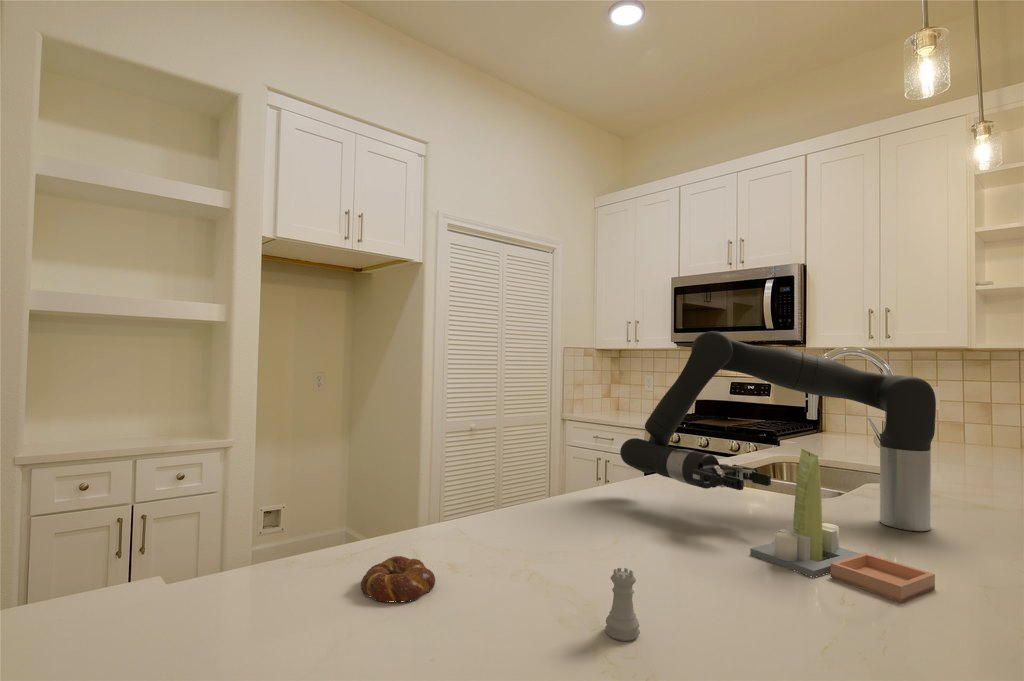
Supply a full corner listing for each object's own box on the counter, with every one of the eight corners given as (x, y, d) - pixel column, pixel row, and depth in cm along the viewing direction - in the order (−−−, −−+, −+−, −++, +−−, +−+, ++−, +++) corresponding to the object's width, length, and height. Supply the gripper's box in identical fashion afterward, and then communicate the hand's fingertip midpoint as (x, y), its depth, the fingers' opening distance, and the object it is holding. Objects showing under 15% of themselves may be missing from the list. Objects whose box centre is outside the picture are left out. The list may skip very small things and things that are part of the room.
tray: (864, 566, 97) (864, 552, 97) (934, 589, 88) (934, 574, 88) (830, 577, 92) (830, 563, 92) (901, 603, 83) (901, 586, 83)
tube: (831, 560, 100) (832, 452, 100) (816, 566, 97) (817, 454, 97) (800, 551, 104) (801, 447, 105) (785, 556, 102) (786, 449, 102)
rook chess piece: (601, 625, 74) (602, 565, 74) (633, 625, 74) (634, 564, 74) (609, 643, 69) (611, 578, 69) (644, 642, 70) (645, 578, 70)
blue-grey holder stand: (802, 541, 110) (802, 516, 110) (866, 561, 100) (866, 533, 100) (749, 555, 102) (749, 527, 102) (812, 578, 91) (813, 548, 92)
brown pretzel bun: (355, 579, 88) (356, 555, 88) (422, 570, 92) (423, 547, 92) (366, 612, 77) (366, 585, 77) (442, 600, 81) (442, 574, 81)
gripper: (670, 453, 121) (733, 466, 107) (714, 448, 128) (778, 461, 114) (669, 487, 120) (732, 505, 106) (713, 481, 128) (778, 497, 114)
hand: (756, 482), depth 110 cm, fingers open, 8 cm apart
